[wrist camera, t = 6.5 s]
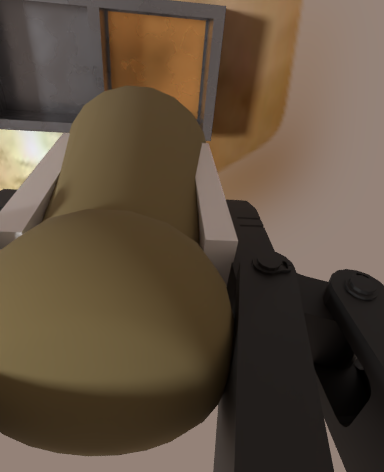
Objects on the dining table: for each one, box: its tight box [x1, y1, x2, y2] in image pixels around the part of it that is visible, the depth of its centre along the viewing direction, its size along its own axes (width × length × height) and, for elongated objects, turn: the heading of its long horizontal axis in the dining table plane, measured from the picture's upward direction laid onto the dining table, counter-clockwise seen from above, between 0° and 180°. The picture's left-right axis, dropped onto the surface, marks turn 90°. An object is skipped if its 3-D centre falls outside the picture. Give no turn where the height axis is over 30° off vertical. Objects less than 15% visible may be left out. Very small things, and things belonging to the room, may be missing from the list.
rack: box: [0, 0, 226, 141], centre depth 26 cm, size 27×10×4 cm, turn 85°
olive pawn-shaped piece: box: [0, 86, 235, 456], centre depth 10 cm, size 6×6×11 cm
